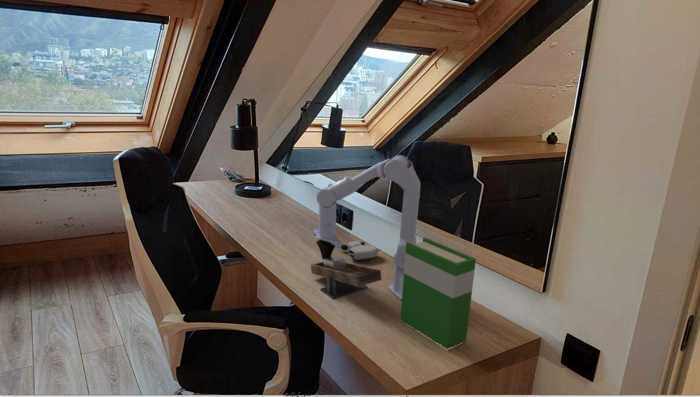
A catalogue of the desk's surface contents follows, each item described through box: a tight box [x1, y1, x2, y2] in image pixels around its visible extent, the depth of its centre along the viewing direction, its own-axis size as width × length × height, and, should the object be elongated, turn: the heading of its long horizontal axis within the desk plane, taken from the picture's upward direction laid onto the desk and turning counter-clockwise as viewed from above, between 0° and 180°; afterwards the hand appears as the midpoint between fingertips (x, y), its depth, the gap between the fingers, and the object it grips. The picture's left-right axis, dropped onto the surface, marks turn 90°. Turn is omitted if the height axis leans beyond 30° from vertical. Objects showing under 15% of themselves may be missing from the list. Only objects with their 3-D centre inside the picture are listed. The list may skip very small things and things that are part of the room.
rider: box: [322, 255, 347, 272], centre depth 153 cm, size 7×5×5 cm
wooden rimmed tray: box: [310, 261, 382, 287], centre depth 149 cm, size 26×9×3 cm, turn 36°
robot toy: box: [338, 240, 383, 261], centre depth 178 cm, size 12×4×15 cm
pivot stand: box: [319, 275, 368, 300], centre depth 150 cm, size 7×14×6 cm, turn 127°
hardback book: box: [400, 237, 477, 349], centre depth 125 cm, size 18×7×24 cm, turn 37°
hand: (326, 260), depth 157 cm, fingers closed
